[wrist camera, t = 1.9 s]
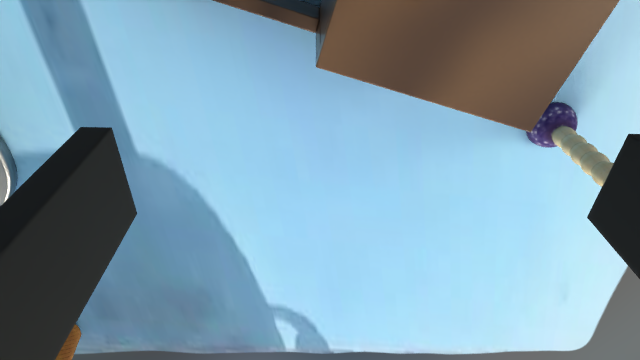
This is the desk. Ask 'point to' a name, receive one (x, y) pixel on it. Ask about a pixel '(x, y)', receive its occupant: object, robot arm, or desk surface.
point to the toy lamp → (569, 140)
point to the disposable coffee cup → (70, 345)
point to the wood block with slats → (451, 47)
